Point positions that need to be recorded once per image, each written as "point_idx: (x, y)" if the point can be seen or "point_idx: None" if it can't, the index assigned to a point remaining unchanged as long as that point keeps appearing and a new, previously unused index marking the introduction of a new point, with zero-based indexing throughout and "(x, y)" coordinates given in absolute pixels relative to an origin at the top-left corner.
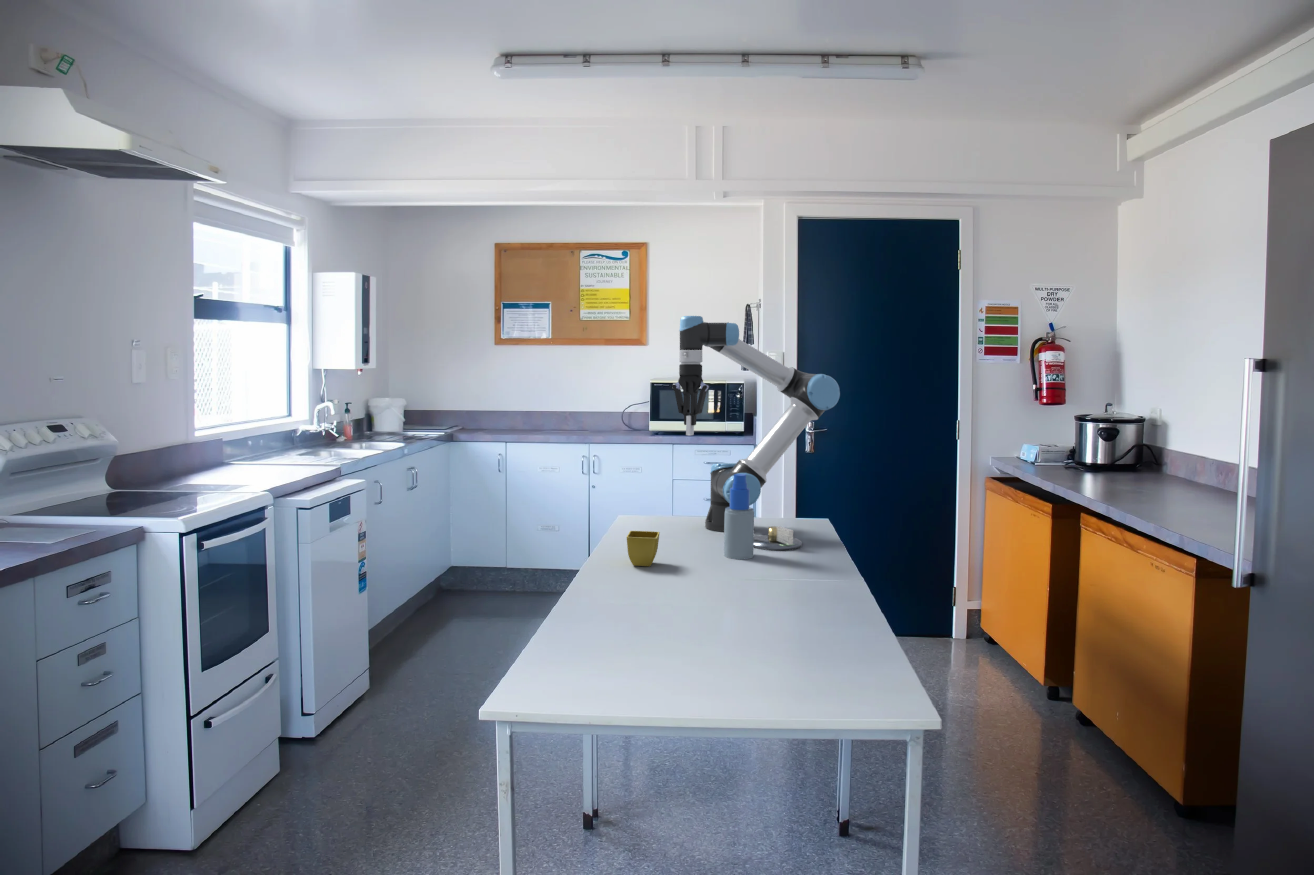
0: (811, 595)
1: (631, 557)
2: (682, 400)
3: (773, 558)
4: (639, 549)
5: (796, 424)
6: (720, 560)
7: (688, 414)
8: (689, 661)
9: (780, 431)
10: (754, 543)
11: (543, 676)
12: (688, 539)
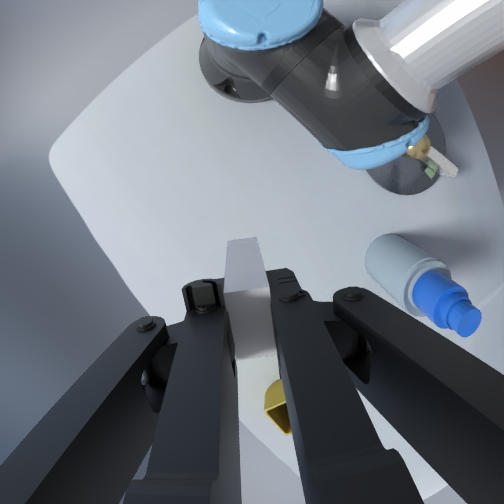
0: (488, 346)
1: (286, 410)
2: (108, 415)
3: (434, 238)
4: None
5: None
6: None
7: (230, 330)
8: (426, 475)
9: None
10: (388, 187)
11: None
12: (248, 206)
